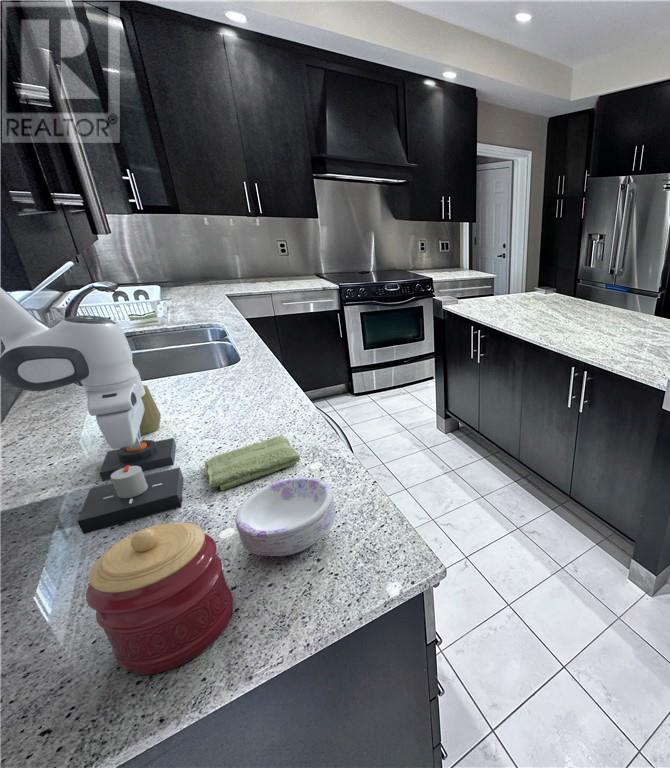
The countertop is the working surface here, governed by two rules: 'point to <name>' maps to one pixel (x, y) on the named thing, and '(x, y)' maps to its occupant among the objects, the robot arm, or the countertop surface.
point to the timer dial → (129, 481)
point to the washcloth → (250, 462)
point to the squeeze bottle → (149, 414)
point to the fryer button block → (140, 457)
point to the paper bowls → (286, 516)
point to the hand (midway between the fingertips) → (136, 446)
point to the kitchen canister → (160, 596)
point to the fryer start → (137, 449)
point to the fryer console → (131, 502)
